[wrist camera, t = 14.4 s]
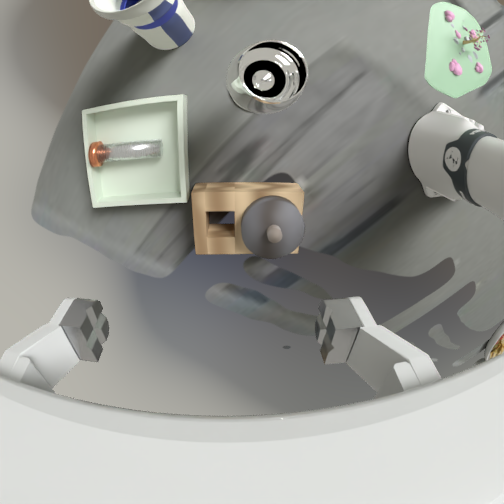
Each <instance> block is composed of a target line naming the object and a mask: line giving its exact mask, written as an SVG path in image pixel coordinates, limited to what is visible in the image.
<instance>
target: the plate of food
mask: <svg viewBox="0 0 504 504" xmlns="http://www.w3.org/2000/svg"><path fill="white" fill-rule="evenodd" d="M503 353H504V321H503V322H502V324H501V325H500V326H499V327H498V329H497V330H496V331H495V332H494V334H493V335H492V337H491V338H490V340H489V342H488V344H487V346H486V348H485V353H484V356H485V360H486V361H487V360H489V359H491V358H494V357H496V356H498V355H500V354H503Z"/></svg>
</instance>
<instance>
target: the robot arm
mask: <svg viewBox="0 0 504 504" xmlns="http://www.w3.org/2000/svg"><path fill="white" fill-rule="evenodd" d="M446 111H447V112H446ZM408 153H409V161H410V165H411V167H412V170H413V172H414V174H415V175H416V177H417V178H418V179H419V180H420V182H421V183H422V186H423V189H424V192H425V194H426V196H428V197H439V196H444V197H446V198H448V199H450V200H452V201H456V200H461V199H465V200H466V201H468V202H469V203H471V204H474V205H476V206H479V207H484V208H485V209H487V210H488V211H490V212H491V213H493V214H494V215H496V216H497V217H499V218H500V219H502V220H503V221H504V140H501V139H498V138H497V137H496V136H495V135H493V134H491V133H489V132H487V131H484V126H483V125H481V124H479V123H477V122H475V121H474V120H472V119H468V118H466V117H463V116H462V115H460V114H459V113H457V112H456V111H455V110H453V109H452V108H450V107H449V106H447V105H446V104H444V103H441V102H440V103H438V104H437V105H436V106H435V107H434V109H433V110H432V112H430V113H428V114H426V115H424V116H423V117H422V118H420V119H419V120H418V122H417V123H416V124H415V126H414V128H413V130H412V132H411V135H410V139H409V146H408ZM102 309H103V307H102V305H101V303H100V301H98V300H91V299H79V298H77V299H76V298H65V299H64V300H63V302H62V303H61V305H60V306H59V308H58V309H57V311H56V312H55V314H54V316H53V317H52V319H51V320H50V322H49V324H44V325H43V326H41V327H40V328H38V329H37V330H36V331H34V332H32V333H31V334H29V335H28V336H26V337H25V338H23V339H22V340H20V341H19V342H17V343H16V344H14V345H13V346H12V347H10V348H9V349H7V350H6V351H5V353H4V355H3V356H2V358H1V360H0V504H504V353H503V354H500V355H498V356H496V357H494V358H491V359H489V360H487V361H485V362H483V363H481V364H478V365H476V366H474V367H471V368H470V369H467V370H464V371H462V372H459V373H457V374H455V375H452V376H449V377H446V378H444V379H442V378H441V377H440V375H439V373H438V372H437V369H436V368H435V366H434V364H433V362H432V361H431V359H430V357H429V356H428V354H426V353H424V352H423V351H421V350H420V349H418V348H416V347H415V346H413V345H412V344H410V343H409V342H407V341H405V340H403V339H402V338H401V337H399V336H397V335H396V334H394V333H393V332H391V331H389V330H388V329H386V328H385V327H383V326H381V325H377V324H376V323H375V321H374V319H373V317H372V315H371V314H370V312H369V310H368V308H367V307H366V305H365V303H364V301H363V300H362V298H361V297H348V298H339V299H324V300H321V301H320V303H319V308H318V309H319V311H320V314H319V315H318V316H317V317H316V322H315V334H316V339H317V342H318V343H320V344H321V345H322V347H321V350H320V352H321V355H322V358H323V361H324V364H325V365H326V364H336V363H345V362H346V364H347V365H348V366H349V367H350V368H352V369H353V370H354V371H355V372H356V373H357V374H358V375H359V376H360V377H361V378H362V379H364V381H366V382H367V383H368V384H369V385H370V386H371V387H372V388H373V389H374V390H375V391H377V394H376V396H375V397H374V398H373V399H372V400H367V401H362V402H358V403H353V404H348V405H342V406H336V407H330V408H324V409H317V410H309V411H302V412H292V413H281V414H268V415H249V416H199V415H180V414H166V413H156V412H147V411H139V410H132V409H125V408H119V407H112V406H107V405H102V404H97V403H92V402H87V401H83V400H78V399H74V398H70V397H66V396H63V395H59V394H56V393H55V392H54V391H53V390H52V388H53V387H54V386H55V385H56V384H57V383H58V382H59V381H60V380H61V379H62V378H63V377H64V376H65V375H66V374H67V373H68V372H69V371H70V370H71V369H72V368H73V367H74V366H75V365H77V364H78V363H79V362H80V360H85V361H93V362H98V361H99V358H100V355H101V353H102V350H103V348H102V345H101V344H103V343H104V342H105V341H106V340H107V337H108V334H109V325H108V321H107V318H106V317H105V316H104V315H103V314H102V313H101V312H102Z"/></svg>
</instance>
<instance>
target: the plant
mask: <svg viewBox="0 0 504 504" xmlns="http://www.w3.org/2000/svg"><path fill="white" fill-rule="evenodd" d="M482 29H484V28H482ZM484 32H485V30H484ZM485 37H486V36H484V35H483V31H482V30H481V28H480V26H479V24H478V23H477V21H476V20H475V19H474V18H473V17H472V16H471V15H470V14H469V13H468V12H467V11H466V10H464V9H463V8H461V7H458V6H456V5H453V4H450V3H447V2H439V3H436V4H434V5H433V6H432V8H431V9H430V18H429V27H428V36H427V54H426V66H425V79H426V81H427V82H428V83H429V85H430V86H432V87H433V88H434V89H436V90H438V91H440V92H442V93H444V94H446V95H448V96H450V97H453V98H458V97H460V96H462V95H464V94H466V93H468V92H470V91H472V90H474V89H476V88H478V87H480V86H482V85H484V84H485V83H486V82H487V80H488V79H489V77H490V75H491V71H492V67H491V61H490V56H489V52H488V47H487V41H488V40H485ZM488 38H490V37H489V35H488Z"/></svg>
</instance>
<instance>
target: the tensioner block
mask: <svg viewBox="0 0 504 504" xmlns="http://www.w3.org/2000/svg"><path fill="white" fill-rule="evenodd" d="M191 197H192V213H193V227H194V239H195V250H196V254H255V255H257V256H259V257H262V258H267V259H276V258H281V257H284V256H286V255H288V254H290V253H298V248H299V245H300V243H301V241H302V239H303V237H304V233H305V224H304V220H303V217H302V211H303V201H304V192H303V190H302V189H301V188H300V186H299V185H298V184H297V183H267V182H266V183H265V182H222V183H196V184H195V186H194V188H193V190H192V192H191ZM209 211H235V224H209Z"/></svg>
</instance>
